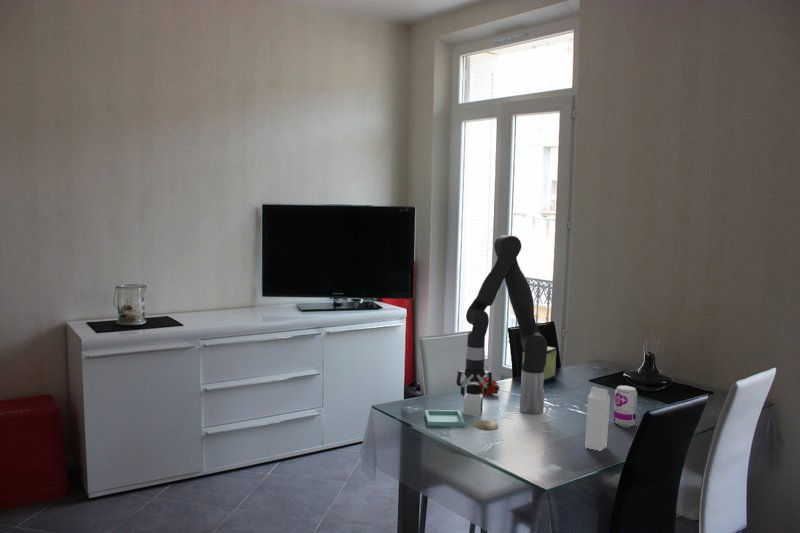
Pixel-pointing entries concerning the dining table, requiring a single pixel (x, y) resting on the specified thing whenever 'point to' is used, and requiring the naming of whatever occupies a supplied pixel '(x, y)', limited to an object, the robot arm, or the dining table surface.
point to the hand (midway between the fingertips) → (473, 395)
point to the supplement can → (625, 405)
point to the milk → (597, 419)
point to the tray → (444, 418)
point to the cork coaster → (486, 425)
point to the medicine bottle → (473, 400)
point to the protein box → (548, 363)
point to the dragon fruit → (490, 389)
